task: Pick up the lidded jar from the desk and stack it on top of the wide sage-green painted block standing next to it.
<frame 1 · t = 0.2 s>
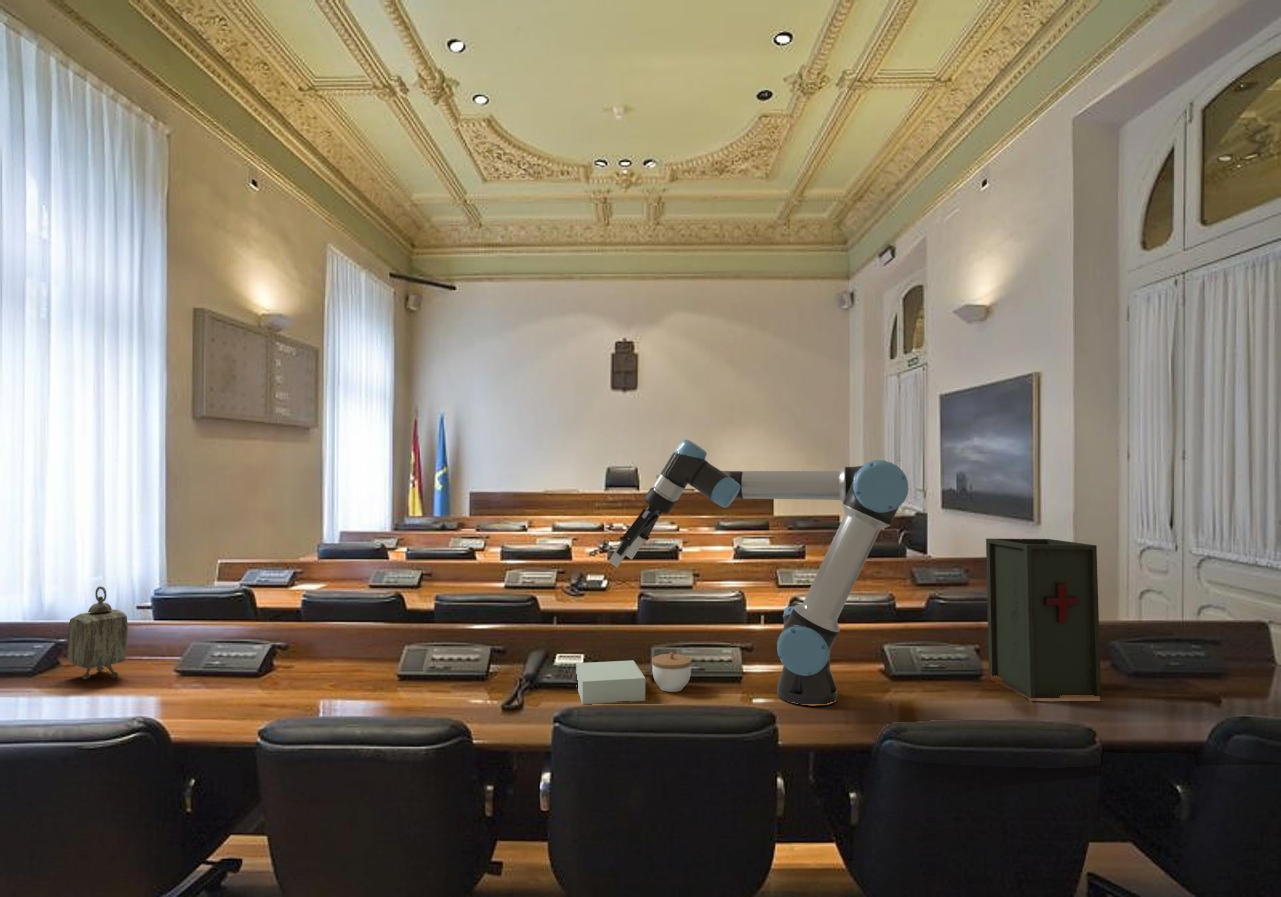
hand: (620, 560, 167), 35 cm above the table, tool tilted 35°, fingers open, 13 cm apart
tabletop clock: (94, 678, 174), on the table
sage block: (609, 693, 166), on the table
first aid box: (1042, 690, 170), on the table
lidded jar: (671, 689, 169), on the table
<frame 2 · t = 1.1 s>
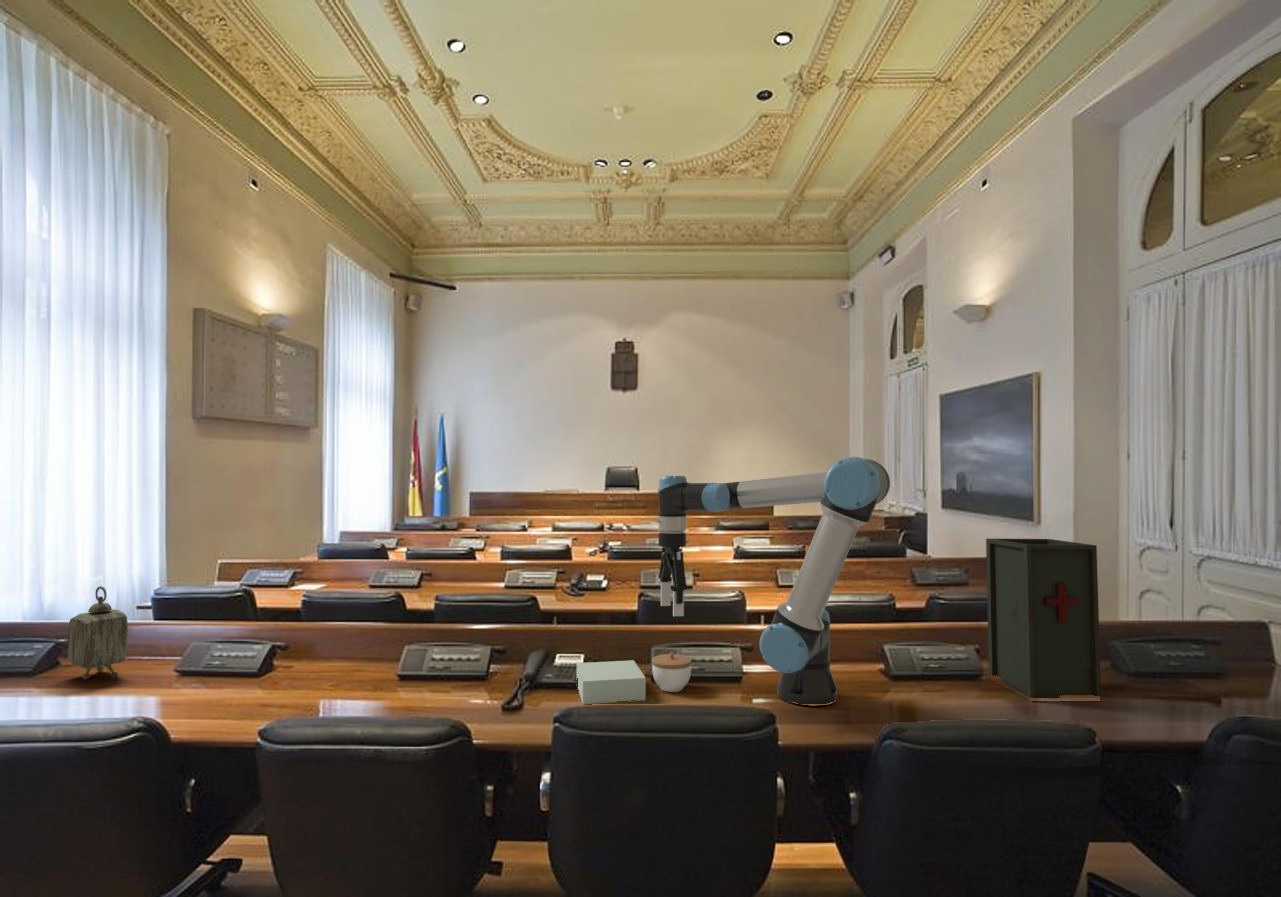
hand: (671, 610, 170), 21 cm above the table, tool pointing down, fingers open, 13 cm apart
nothing on the table moved.
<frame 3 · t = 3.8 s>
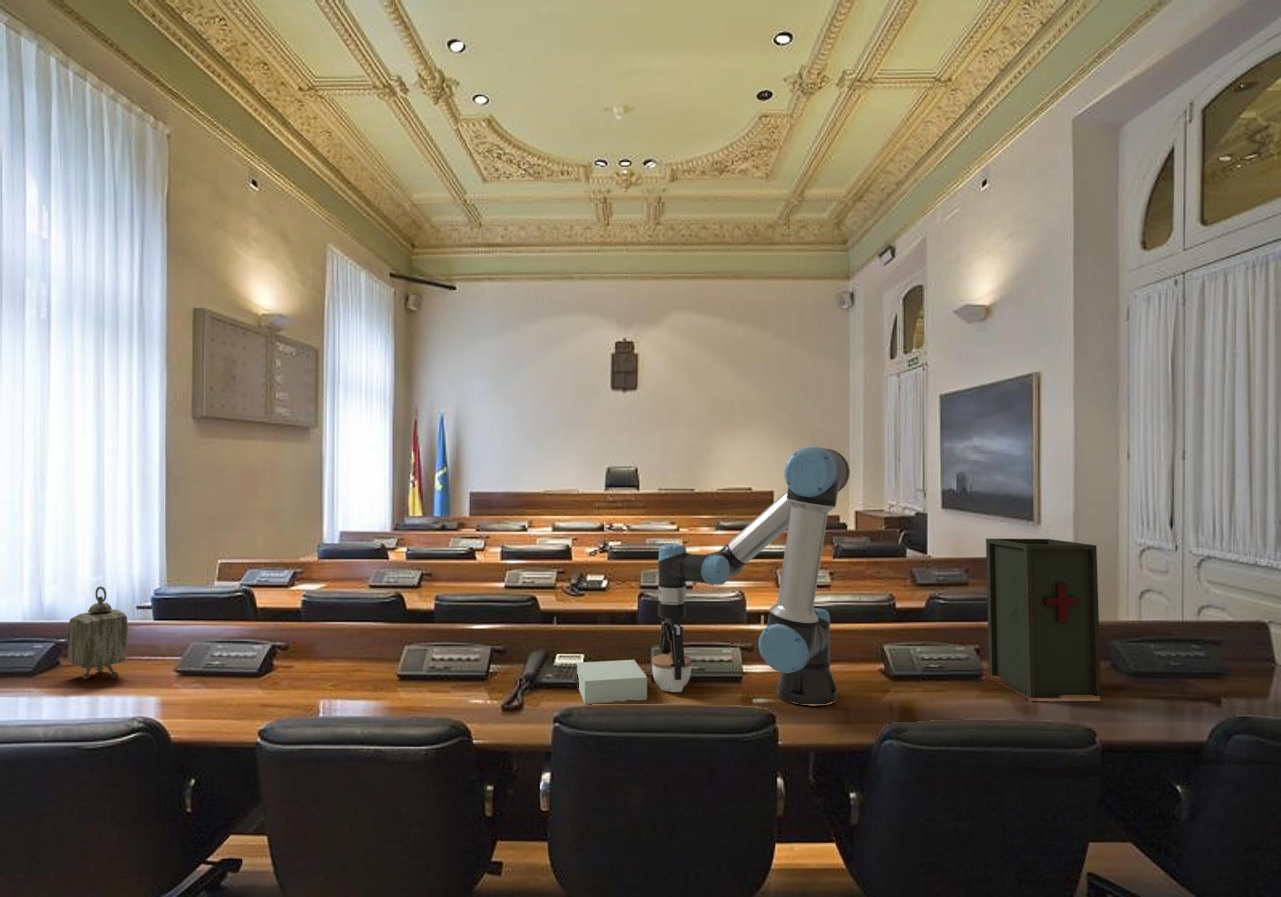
hand: (671, 684, 169), 1 cm above the table, tool pointing down, fingers closed on lidded jar, 11 cm apart
lidded jar: (671, 689, 169), on the table, touching gripper
everything else where it was.
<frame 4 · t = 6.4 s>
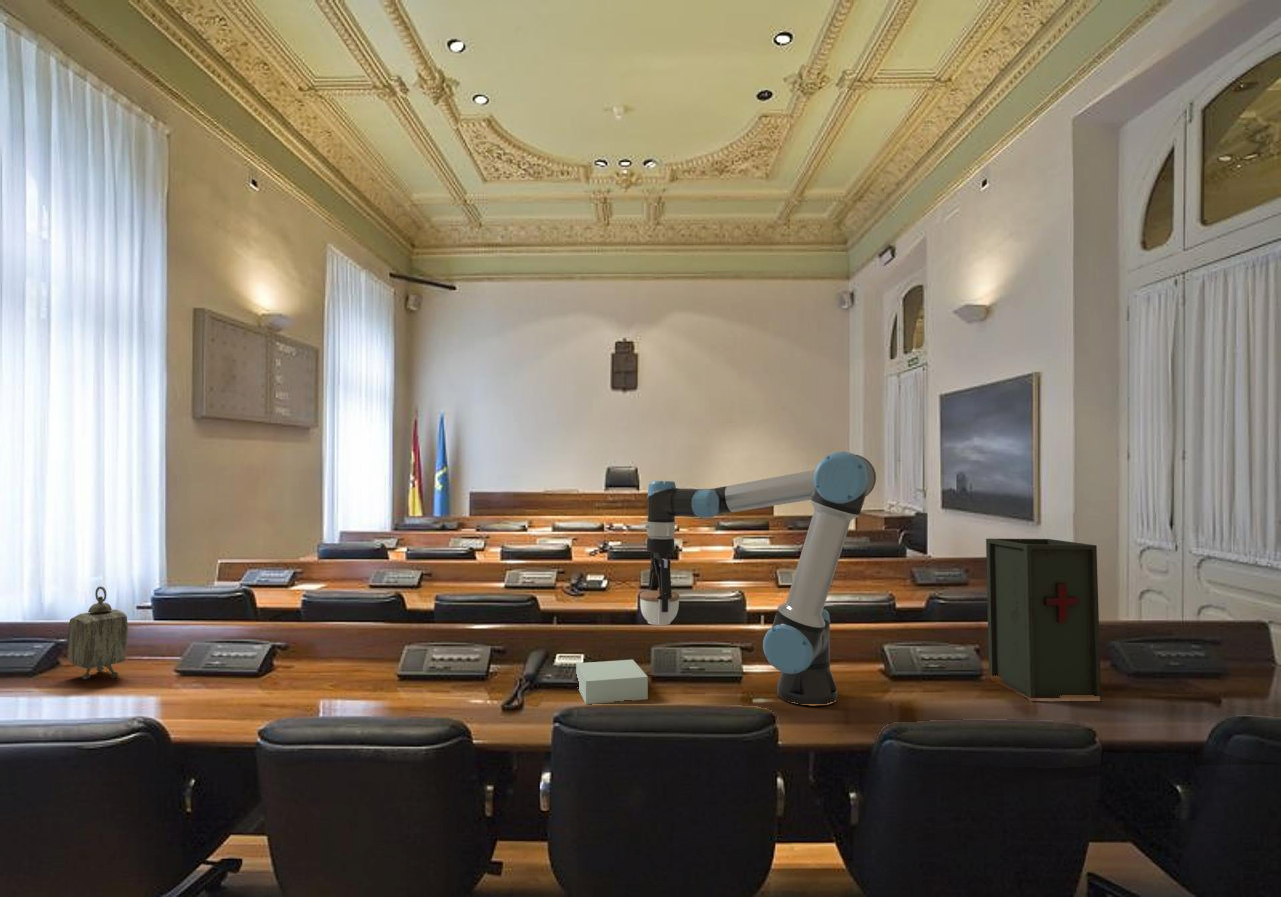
hand: (659, 619, 170), 18 cm above the table, tool pointing down, fingers closed on lidded jar, 11 cm apart
lidded jar: (659, 623, 170), point 17 cm above the table, touching gripper
everything else where it was.
when the fingers open (8 cm above the table, at t = 9.3 s): lidded jar drops 2 cm, resting on sage block.
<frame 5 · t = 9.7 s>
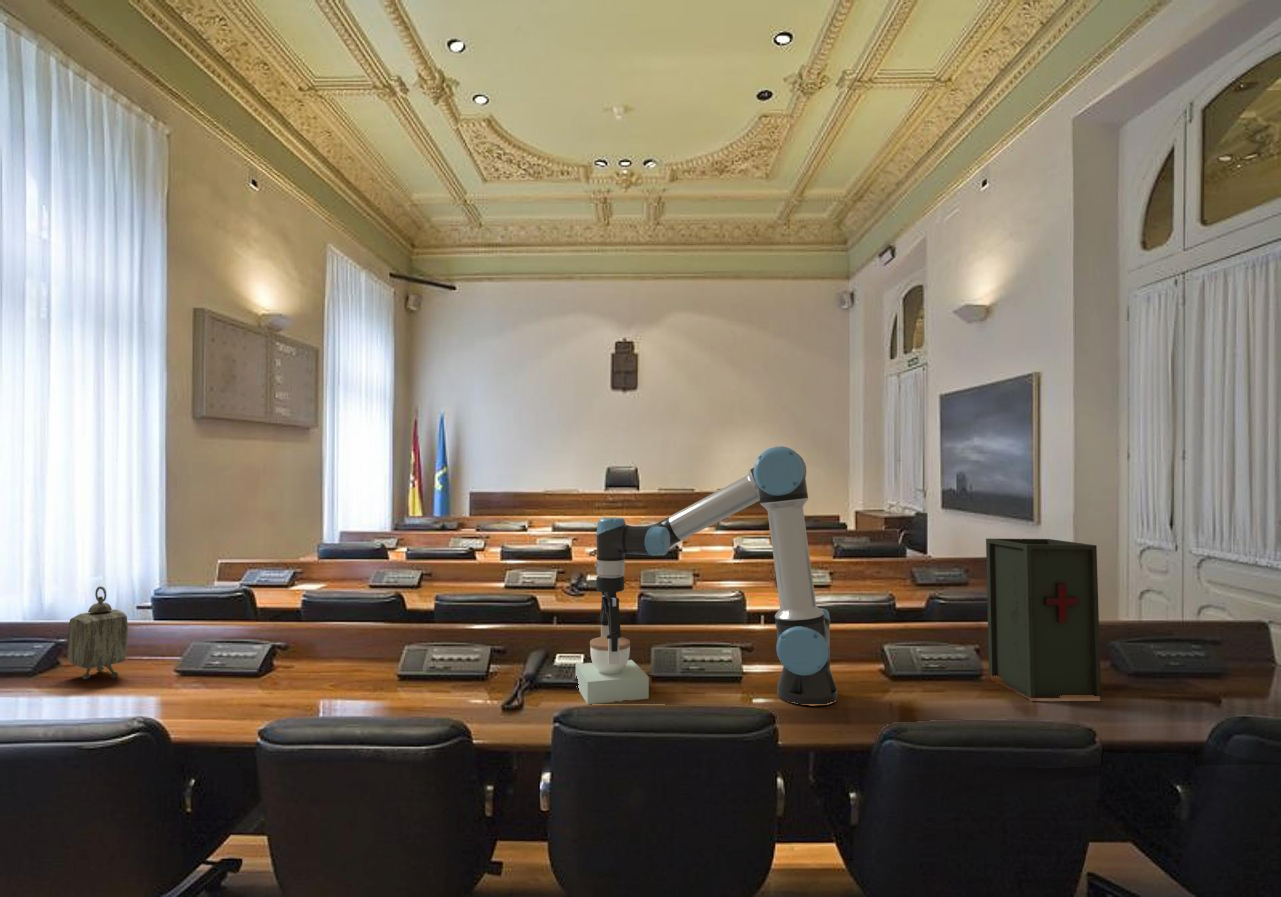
hand: (609, 656, 166), 9 cm above the table, tool pointing down, fingers open, 13 cm apart
sage block: (610, 693, 166), on the table, touching lidded jar
lidded jar: (609, 671, 166), point 5 cm above the table, touching sage block
everything else where it was.
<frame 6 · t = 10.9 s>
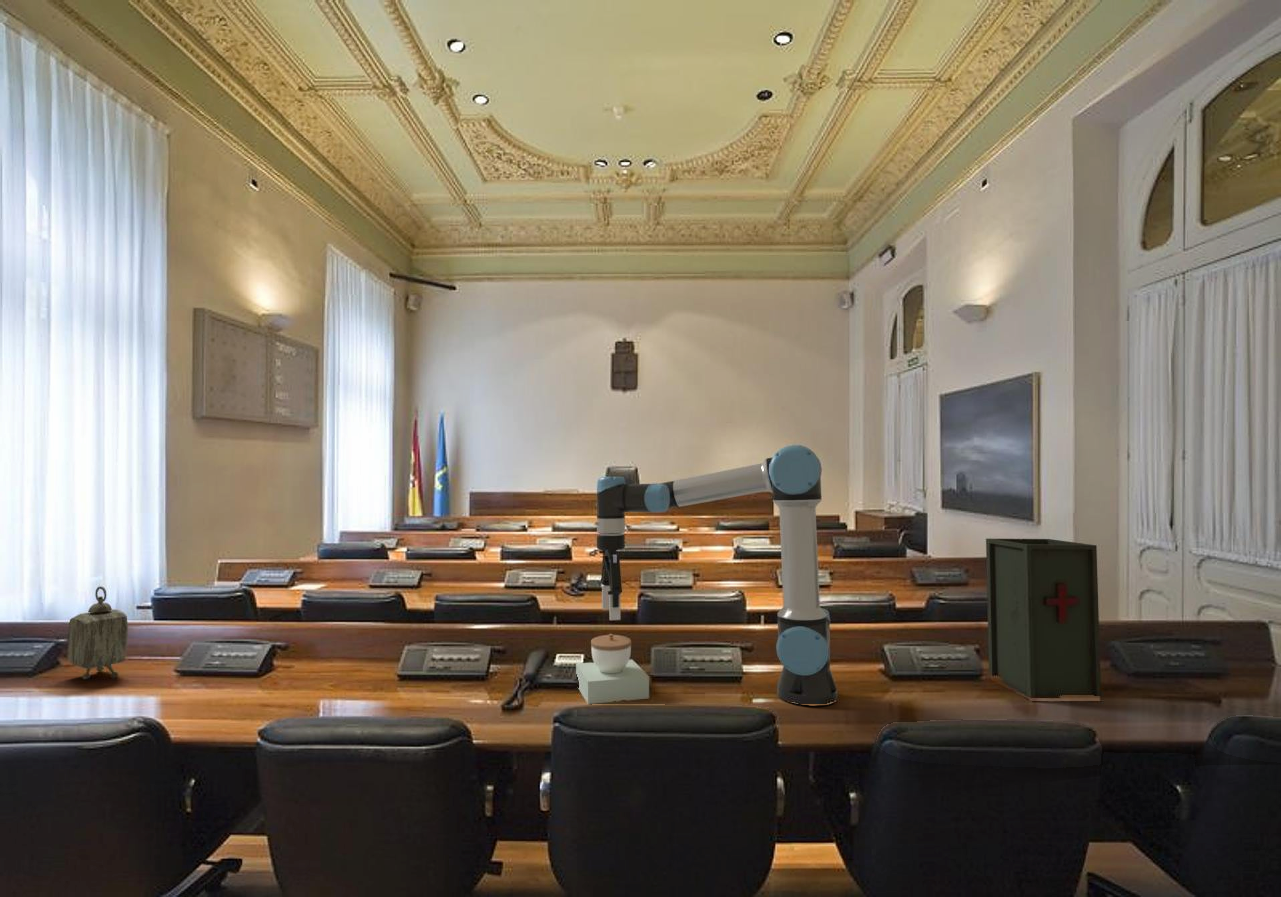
hand: (610, 614, 167), 20 cm above the table, tool pointing down, fingers open, 13 cm apart
nothing on the table moved.
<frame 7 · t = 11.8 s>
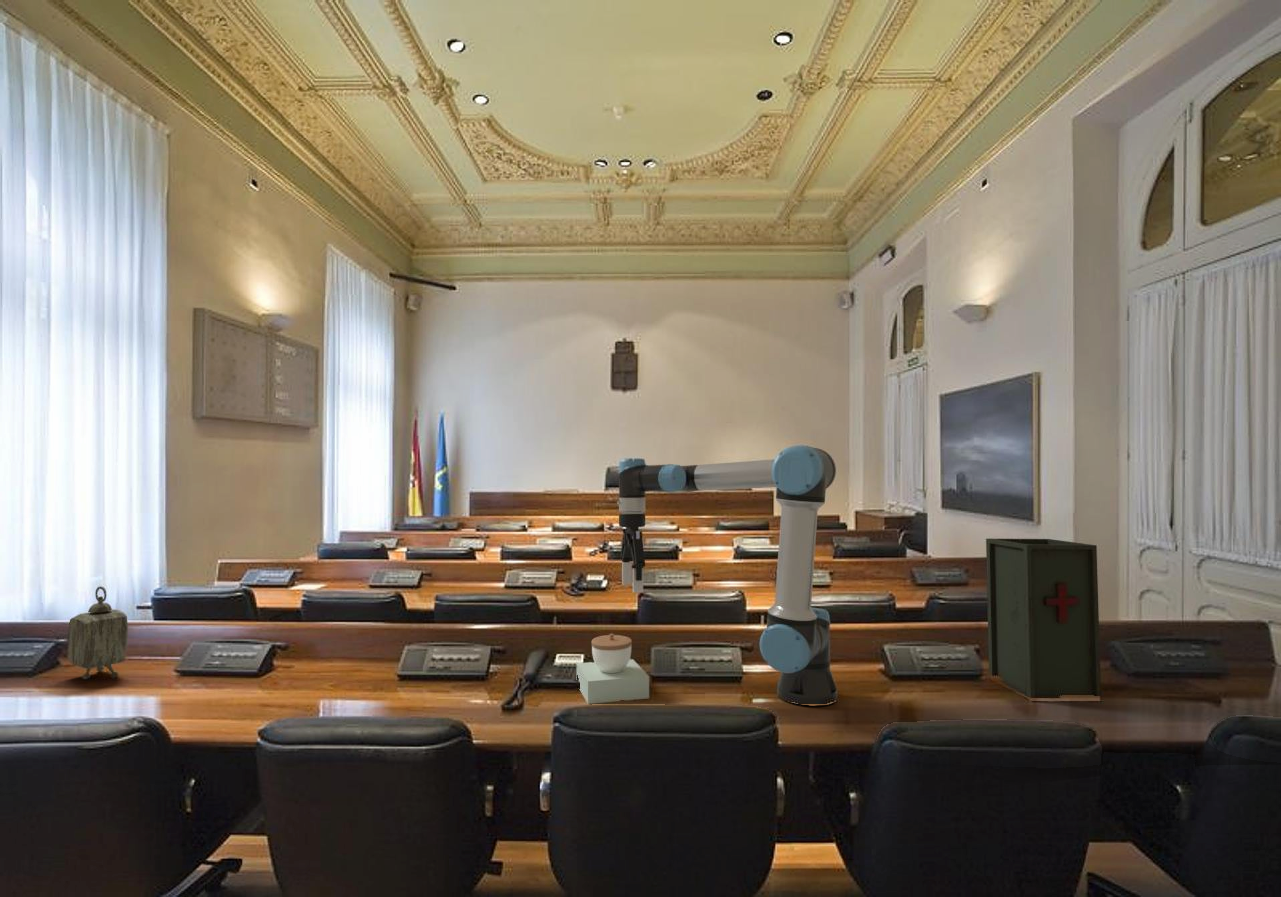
hand: (632, 588, 176), 25 cm above the table, tool pointing down, fingers open, 13 cm apart
sage block: (611, 692, 167), on the table
lidded jar: (611, 670, 167), point 5 cm above the table
everything else where it was.
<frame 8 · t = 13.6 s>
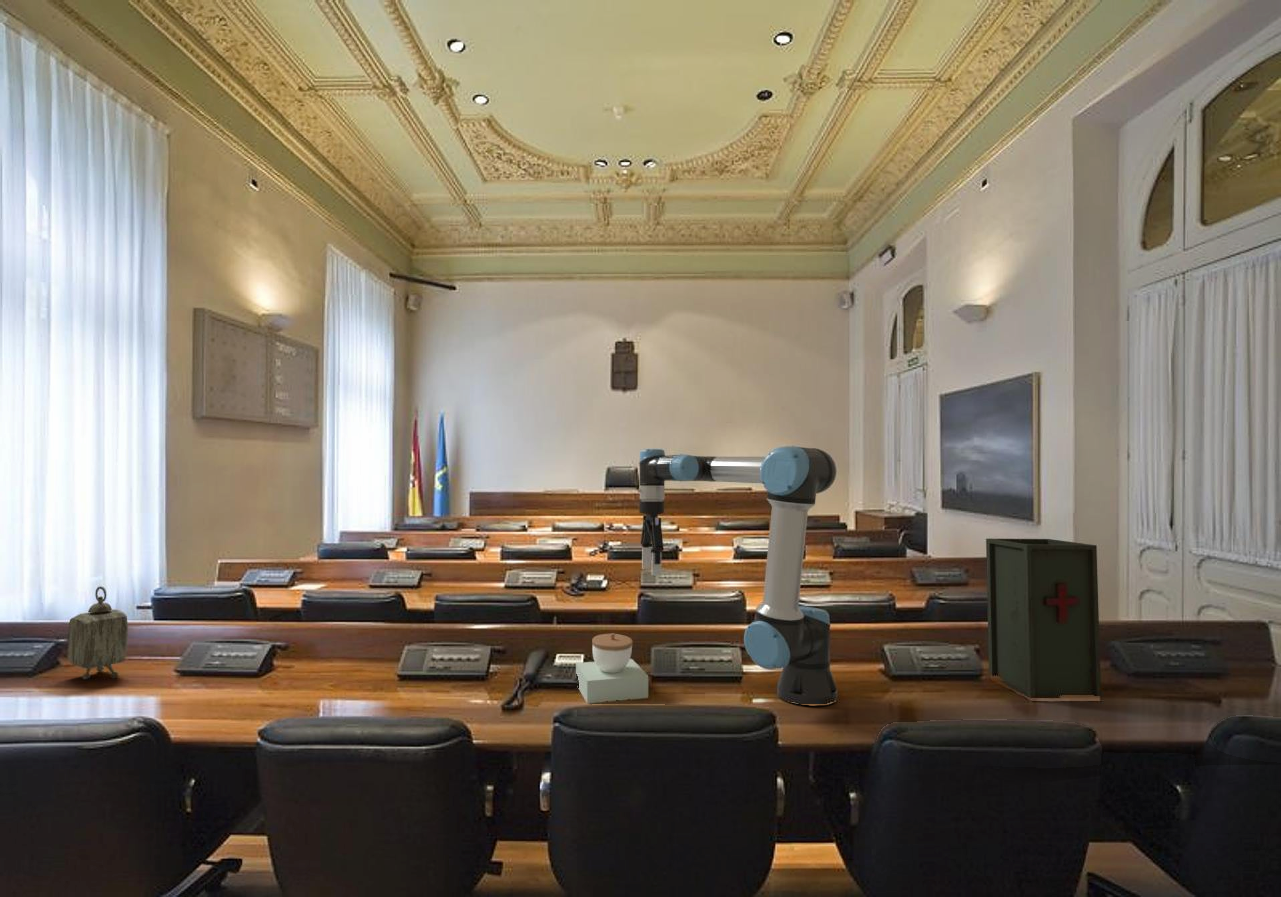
hand: (651, 572, 187), 29 cm above the table, tool pointing down, fingers open, 13 cm apart
sage block: (610, 692, 167), on the table, touching lidded jar
lidded jar: (611, 669, 167), point 6 cm above the table, touching sage block
everything else where it was.
at the end: lidded jar inside the target area on the sage block (0.6 cm from its centre), point 6.0 cm above the sage block's base; lidded jar tilted 3°; the gripper is holding nothing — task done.
